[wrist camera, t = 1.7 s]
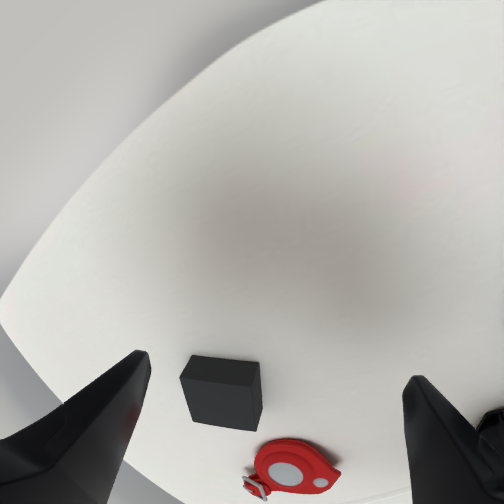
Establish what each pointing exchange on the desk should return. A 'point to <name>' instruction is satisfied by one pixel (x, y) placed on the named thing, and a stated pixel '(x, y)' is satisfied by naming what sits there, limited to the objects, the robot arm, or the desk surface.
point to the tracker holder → (290, 470)
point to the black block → (223, 392)
